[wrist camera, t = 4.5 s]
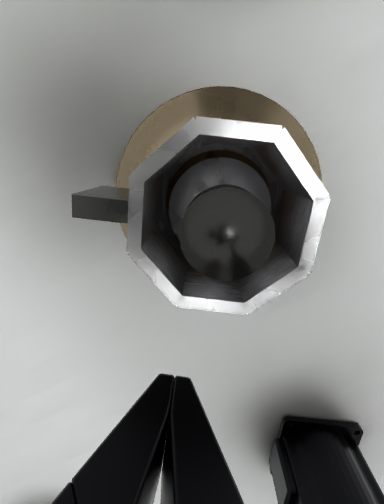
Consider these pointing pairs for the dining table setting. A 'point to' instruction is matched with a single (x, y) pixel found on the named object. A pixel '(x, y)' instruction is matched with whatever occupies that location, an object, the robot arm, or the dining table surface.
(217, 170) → the dark round knob
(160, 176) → the moka pot
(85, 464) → the robot arm
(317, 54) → the dining table surface
